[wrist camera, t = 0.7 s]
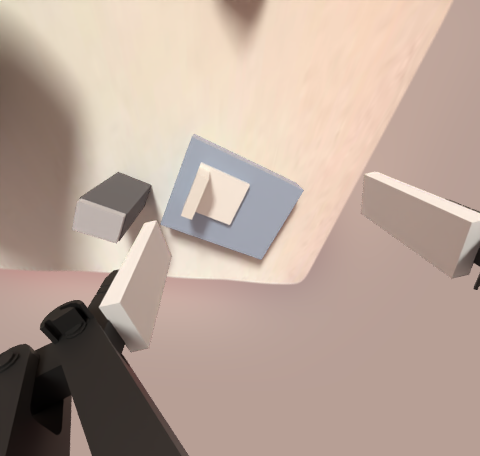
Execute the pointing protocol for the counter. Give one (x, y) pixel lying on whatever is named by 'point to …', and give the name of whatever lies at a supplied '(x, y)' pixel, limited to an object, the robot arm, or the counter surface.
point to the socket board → (250, 210)
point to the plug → (110, 207)
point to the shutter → (214, 195)
